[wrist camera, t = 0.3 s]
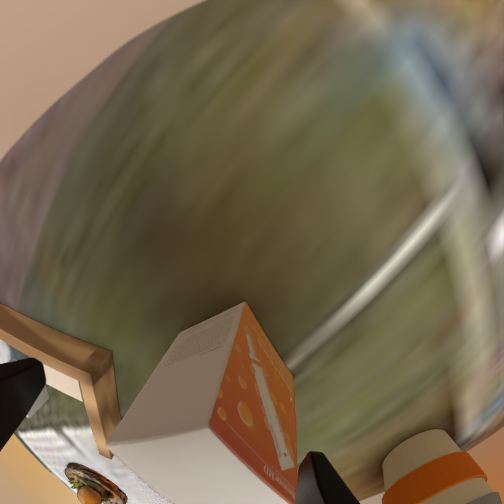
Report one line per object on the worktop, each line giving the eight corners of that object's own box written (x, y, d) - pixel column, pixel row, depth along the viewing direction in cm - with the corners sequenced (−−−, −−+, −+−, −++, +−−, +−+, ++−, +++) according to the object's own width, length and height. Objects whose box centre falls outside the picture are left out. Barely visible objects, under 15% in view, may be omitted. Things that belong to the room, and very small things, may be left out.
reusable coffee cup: (398, 488, 26) (419, 567, 11) (347, 468, 25) (363, 574, 10) (471, 434, 23) (514, 510, 9) (437, 403, 22) (495, 507, 8)
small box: (295, 376, 22) (301, 512, 10) (230, 400, 24) (200, 524, 11) (246, 296, 21) (207, 427, 9) (178, 329, 22) (99, 446, 10)
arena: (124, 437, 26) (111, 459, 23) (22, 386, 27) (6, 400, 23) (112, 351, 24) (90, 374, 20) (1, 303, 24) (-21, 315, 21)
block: (49, 397, 27) (29, 418, 22) (20, 380, 27) (0, 397, 22) (42, 374, 26) (19, 395, 21) (13, 357, 26) (-9, 374, 22)
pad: (83, 400, 26) (82, 401, 26) (46, 382, 26) (45, 383, 26) (75, 360, 25) (74, 361, 24) (37, 342, 25) (36, 343, 25)
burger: (59, 463, 32) (41, 488, 25) (85, 458, 30) (64, 489, 23) (107, 502, 33) (94, 527, 26) (141, 500, 31) (127, 532, 24)
